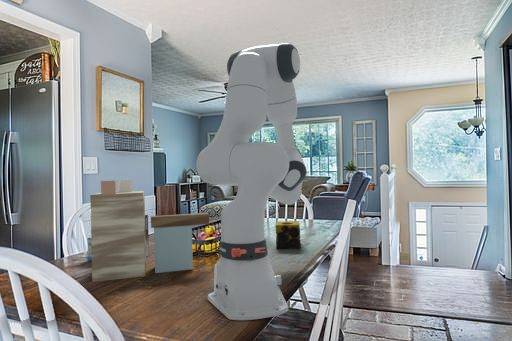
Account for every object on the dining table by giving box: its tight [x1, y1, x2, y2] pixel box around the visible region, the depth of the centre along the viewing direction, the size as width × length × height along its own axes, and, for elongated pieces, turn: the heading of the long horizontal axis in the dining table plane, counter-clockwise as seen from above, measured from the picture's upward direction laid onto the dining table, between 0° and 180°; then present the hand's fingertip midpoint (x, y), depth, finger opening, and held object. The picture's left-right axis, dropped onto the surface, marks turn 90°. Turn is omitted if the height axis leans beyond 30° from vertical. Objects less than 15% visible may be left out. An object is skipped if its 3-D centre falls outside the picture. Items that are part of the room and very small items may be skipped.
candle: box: [275, 220, 301, 250], centre depth 146 cm, size 10×10×10 cm
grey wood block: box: [89, 190, 147, 283], centre depth 112 cm, size 13×15×26 cm
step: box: [153, 225, 194, 274], centre depth 116 cm, size 8×12×14 cm, turn 106°
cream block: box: [117, 179, 133, 192], centre depth 116 cm, size 4×4×4 cm
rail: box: [150, 212, 210, 229], centre depth 117 cm, size 3×19×4 cm, turn 106°
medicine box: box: [86, 236, 92, 262], centre depth 130 cm, size 8×4×9 cm, turn 62°
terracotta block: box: [100, 180, 118, 194], centre depth 107 cm, size 4×4×4 cm
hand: (227, 159), depth 122 cm, fingers open, 8 cm apart
